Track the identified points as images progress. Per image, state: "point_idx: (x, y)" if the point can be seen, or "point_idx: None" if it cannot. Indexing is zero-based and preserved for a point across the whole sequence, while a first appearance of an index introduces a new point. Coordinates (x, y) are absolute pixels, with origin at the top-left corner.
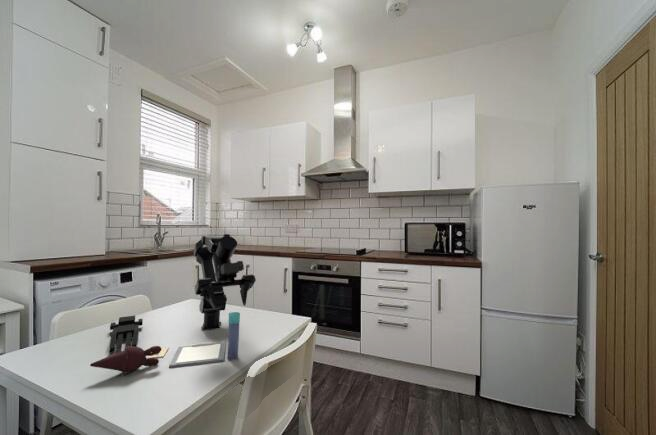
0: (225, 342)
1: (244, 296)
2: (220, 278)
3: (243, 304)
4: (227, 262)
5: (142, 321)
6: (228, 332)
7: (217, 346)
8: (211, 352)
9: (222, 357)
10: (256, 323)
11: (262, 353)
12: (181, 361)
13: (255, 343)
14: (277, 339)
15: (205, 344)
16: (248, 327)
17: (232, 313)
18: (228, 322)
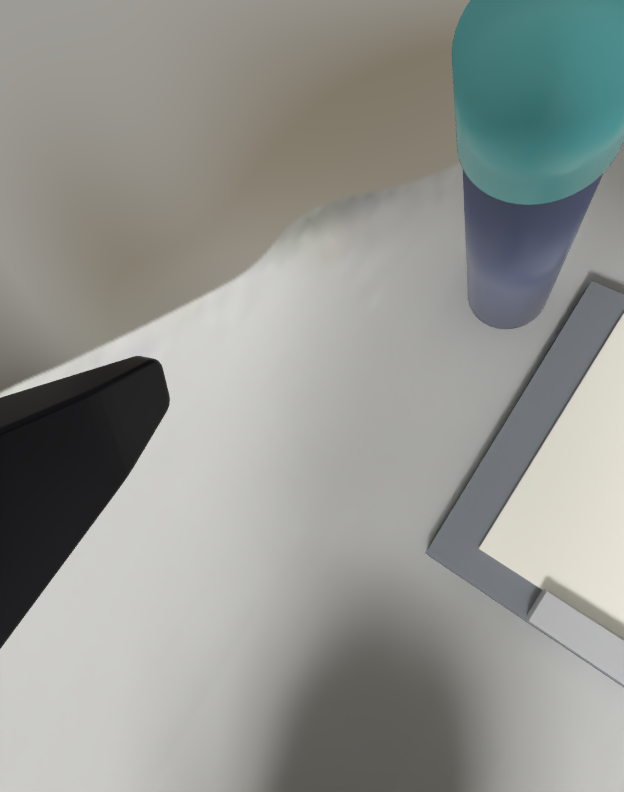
0: (428, 550)
1: (22, 415)
2: None
3: (158, 418)
4: None
5: None
6: (587, 208)
7: (526, 516)
8: (622, 445)
9: (585, 310)
10: (38, 724)
11: (320, 224)
12: None
13: (262, 392)
14: (131, 344)
15: (603, 627)
16: (122, 705)
17: (576, 67)
18: (618, 150)
